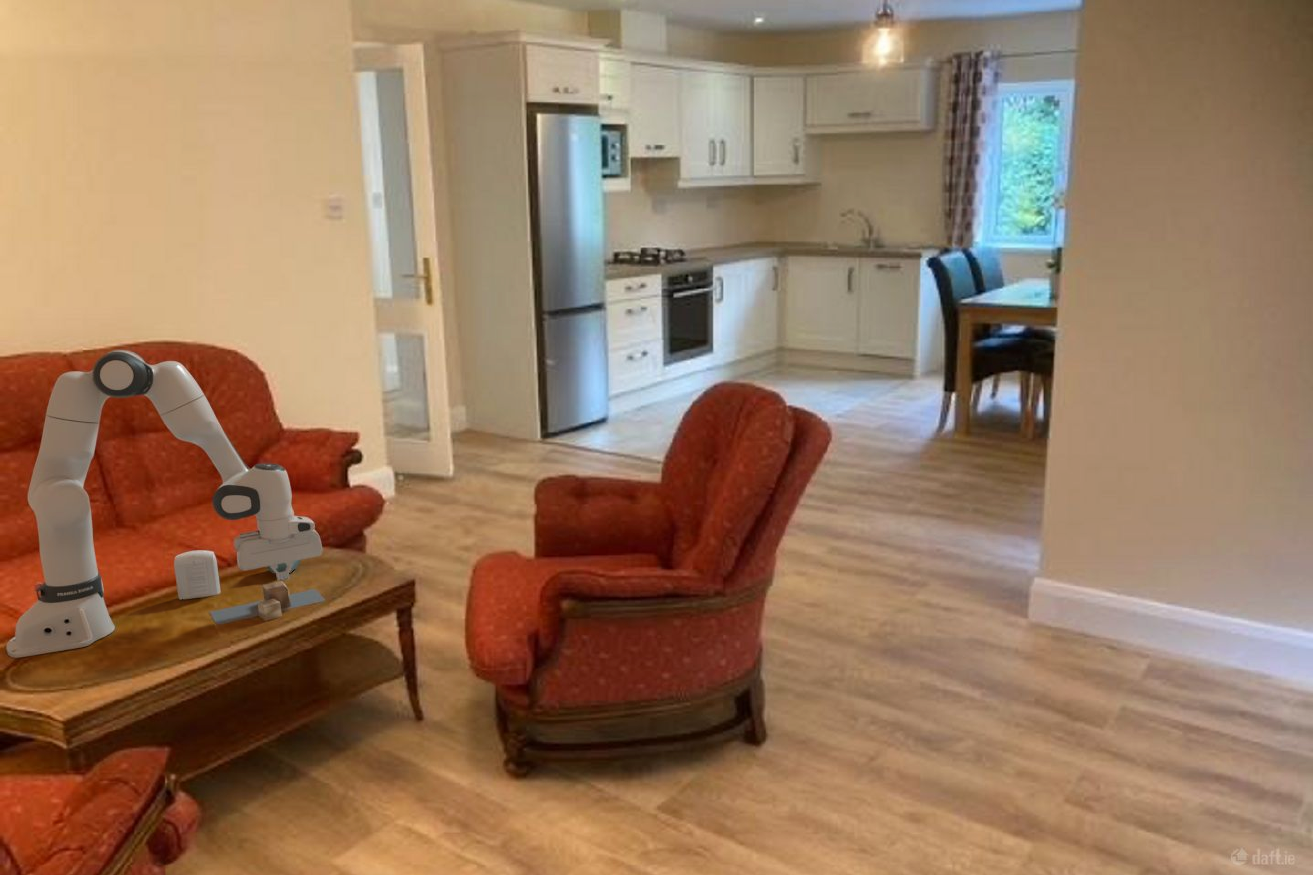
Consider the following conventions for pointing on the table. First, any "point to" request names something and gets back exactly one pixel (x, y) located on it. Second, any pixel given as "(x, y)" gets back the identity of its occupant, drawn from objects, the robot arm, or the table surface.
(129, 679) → the table surface
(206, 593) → the white upright rounded block
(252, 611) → the mat
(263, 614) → the maple cube
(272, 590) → the walnut block
